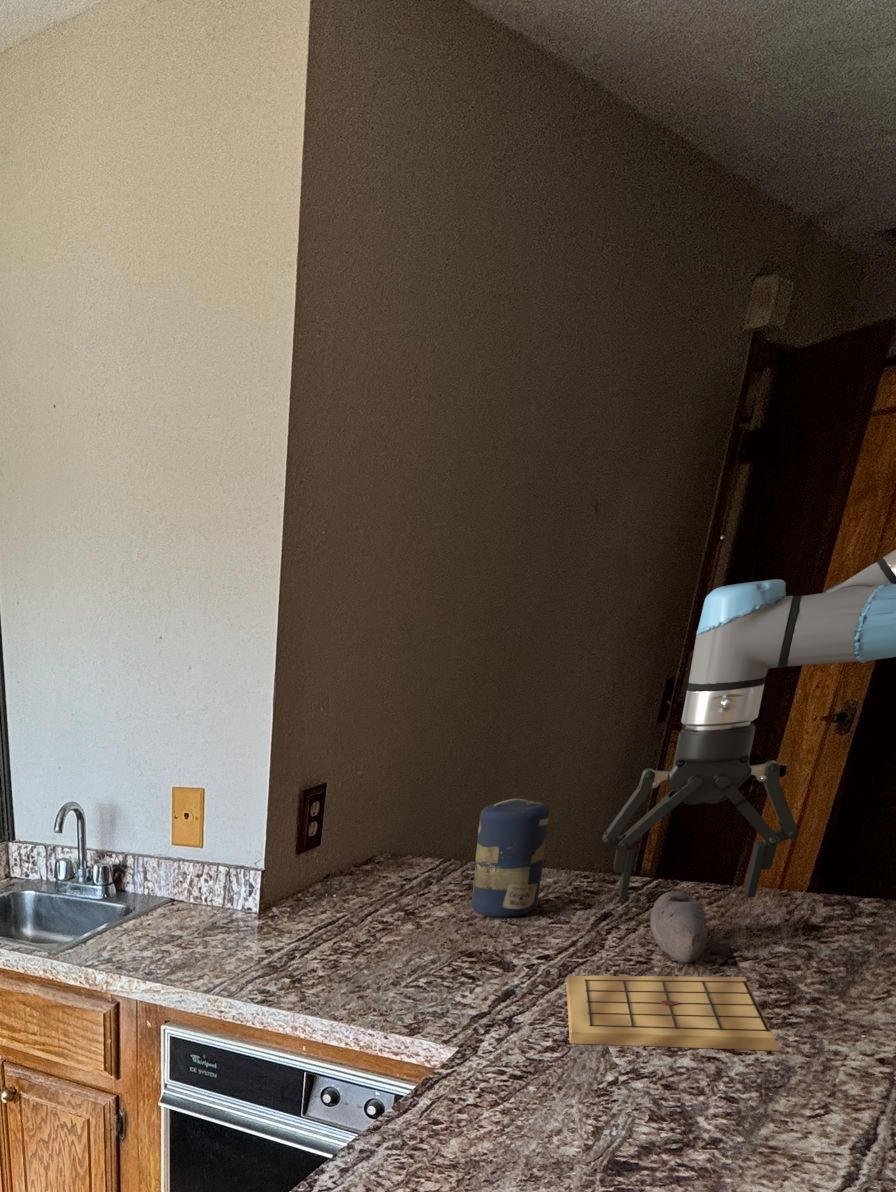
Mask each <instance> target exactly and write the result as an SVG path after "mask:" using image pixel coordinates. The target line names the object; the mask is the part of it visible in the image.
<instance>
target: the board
mask: <svg viewBox="0 0 896 1192" xmlns="http://www.w3.org/2000/svg"><path fill="white" fill-rule="evenodd" d="M566 977H567V978H566V985H565V989H566V1003H567V1004H566V1005H567V1007H566V1008H567V1021H568V1022H567V1023H568V1036H569V1044H576V1045H601V1046H602V1045H603V1046H604V1045H605V1046H606V1045H607V1046H628V1047H629V1046H631V1047H632V1046H634V1047H636V1046H637V1047H657V1048H658V1047H659V1048H687V1049H688V1048H689V1049H692V1048H693V1049H712V1048H713V1050H714V1049H715V1050H716V1049H718V1050H742V1051H743V1050H744V1051H767V1052H768V1051H770V1052H782V1051H781V1048H780V1046H779V1044H778V1042H777V1040H776V1038H775V1036H774V1034H773V1031H772V1030H771V1028H770V1025H769V1024H768V1022H767V1019H766V1017H765V1016H764V1015H765V1014H764V1013H763V1011H762V1009H761V1007H760V1004H759V1003H758V1001H757V999H756V997H755V995H754V993H753V991H752V989H751V987H750V985H749V983H748V980H747V979H746V977H745V976H675V975H674V976H672V975H671V976H667V975H665V976H663V975H662V976H661V975H660V976H659V975H658V976H657V975H656V976H655V975H648V976H647V975H567V976H566Z"/></svg>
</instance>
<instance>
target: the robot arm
mask: <svg viewBox="0 0 896 1192" xmlns="http://www.w3.org/2000/svg"><path fill="white" fill-rule="evenodd" d="M786 585H787V584H786V581H785V580H783V579H767V580H760V581H750V582H742V583H741V582H740V583H735V584H729V585H723V586H719V587H717V588H715V589H713V590H712V591H710V592H709V593H708V594H707V595H706V597H705V599H704V602H703V606H702V610H701V614H700V615H701V616H700V619H699V623H698V626H697V630H696V636H695V642H694V649H693V652H692V653H693V655H692V659H691V665H690V666H691V667H690V671H689V676H688V677H689V679H688V684H687V690H686V694H685V700H684V705H683V709H682V715H681V719H680V720H681V721H680V723H682V725H684V726H685V727H684V728H682V729H681V730H679V732H678V737H677V743H676V749H675V754H674V760H673V764H672V766H671V768H670V769H669V770H654V769H653V768H651V767H647V768H645V769H644V770H643V771H642V773H641V776H640V780H639V783H638V785H637V787H636V788H635V790H634V791H633V793H632V794H631V795H630V797H629V798H628V800H627V801H626V802H625V804H624V805H623V806H622V808H621V810H620V811H619V812H618V814H617V815H616V816H615V818H614V819H613V821H612V822H611V823H610V825H609V826H608V827H607V829H606V830H605V831H604V833H603V834H602V837H601V839H602V843H603V845H605V846H609V847H613V848H615V855H614V862H613V870H614V874H621V878H620V885H619V890H618V897H619V900H627V899H628V895H629V887H630V882H631V875H632V871H633V870H632V869H633V865H634V860H635V859H634V857H635V853H636V848H635V846H634V845H633V844H634V843H635V842H637V840H639V839H640V838H641V837H642V836H643V835H644V834H646V832H648V831H649V830H650V829H651V828H652V827H654V825H656V824H657V823H659V821H660V820H661V819H663V817H665V816H666V815H667V814H668V813H669V812H670V811H672V810H674V809H675V808H676V807H678V806H679V805H680V804H681V803H684V804H687V805H688V806H689V805H690V806H693V805H695V806H696V805H700V804H704V803H705V804H709V805H713V804H720V803H721V802H723V801H725V800H727V799H728V800H729V801H730V802H731V803H732V804H733V805H734V807H735V808H736V809H737V810H738V811H739V812H740V813H741V815H742V816H743V817H744V818H745V819H746V821H747V822H748V823H749V824H750V825H751V826H752V828H754V830H755V831H756V832H757V834H758V835H759V836H760V837H761V838H762V839H763V840H761V841H760V840H759V841H754V845H753V849H752V855H751V858H750V863H749V867H748V871H747V876H746V881H745V885H744V889H743V894H744V895H745V896H746V897H745V898H747V899H748V898H749V899H751V898H753V899H754V898H755V897H756V892H757V888H758V884H759V880H760V875H761V871H768V870H770V869H771V868H772V867H773V864H774V860H775V855H776V851H777V846H778V845H779V844H780V843H782V842H783V841H787V840H793V839H796V838H797V837H798V836H799V834H800V831H799V829H798V826H797V824H796V821H795V819H794V816H793V814H792V811H791V808H790V805H789V803H788V801H787V799H786V796H785V793H784V790H783V789H782V786H781V783H780V772H781V766H780V764H779V763H778V762H777V761H776V760H773V759H772V760H771V759H770V760H767V761H765V762H764V763H758V764H752V765H751V763H750V756H751V753H752V752H751V751H752V746H753V741H754V738H755V732H756V728H757V727H756V726H755V725H754V723H751V722H753V721H754V720H756V719H758V717H759V713H760V709H761V703H762V699H763V692H764V687H765V684H766V680H767V674H768V672H769V670H770V669H777V668H778V669H781V668H786V667H799V666H800V667H801V666H814V665H829V664H839V663H840V664H841V663H853V662H860V663H867V662H870V661H875V660H881V659H882V660H883V659H890V658H895V657H896V549H894V550H892V551H891V552H889V553H888V554H886V555H884V556H883V557H882V558H880V559H879V560H877V561H876V562H875V563H872V564H871V565H868V566H867V567H866V568H864V569H862V570H861V571H859V572H858V573H856V574H855V575H853V576H852V577H850V578H848V579H846V580H845V581H844V582H841V583H838V584H836V585H834V586H832V587H830V588H829V589H827V590H826V591H825V592H821V593H813V594H807V595H787V592H786ZM750 776H754V777H755V779H756V780H757V782H759V783H763V786H764V789H765V791H766V794H767V796H768V799H769V802H770V804H771V806H772V809H773V812H774V814H775V817H776V819H777V821H778V824H779V827H780V828H778V829H776V830H775V829H774V830H773V828H771V826H770V825H769V824H768V823H767V821H766V820H765V819H764V818H763V817H762V816H761V814H759V812H758V811H757V810H756V809H755V808H754V807H753V805H751V803H750V802H749V801H748V800H747V798H745V796H744V795H743V794H742V793H741V792H740V790H739V787H740V786H742V784H744V783H745V782H746V781H747V780H749V778H750ZM664 781H667V783H668V785H669V786H670V788H671V791H669V792H668V793H667V794H666V795H665V796H664V797H663V798H662V799H661V800H660V801H659V802H657V804H656V805H655V806H654V807H652V808H651V809H650V810H649V811H647V813H646V814H644V816H642V817H641V818H639V820H637V822H635V823H634V824H633V825H632V826H631V827H630V828H629V829H628V830H626V832H625V833H623V834H622V835H620V834H621V833H622V831H623V830H624V828H625V827H626V826H627V824H628V823H629V821H630V820H631V819H632V818H633V816H634V815H635V814H636V812H637V811H638V809H640V807H641V805H642V804H643V803H644V802H645V800H646V799H647V797H648V796H649V794H650V792H651V790H652V789H656V788H657V787H659V786H660V784H661V783H662V782H664Z"/></svg>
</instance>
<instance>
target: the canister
mask: <svg viewBox="0 0 896 1192" xmlns="http://www.w3.org/2000/svg"><path fill="white" fill-rule="evenodd" d="M549 817H550V807H549V806H548V804H546V803H544V802H541V801H536V800H529V799H524V798H518V797H517V798H511V799H506V800H502V801H500V802H497V803H492V804H490V805H487V806H485V807H484V808H483V809H482V810H481V812H480V815H479V823H478V830H477V832H478V833H477V841H476V842H477V843H476V852H475V868H474V877H473V888H472V898H471V899H472V900H471V907H472V909H473V911H474V912H475V913H477V914H479V915H482V916H487V917H495V918H508V917H517V916H518V917H519V916H523V915H526V914H529V913H531V912H533V911H534V910H535V909H536V908H537V907H538V905H539V896H540V895H539V894H540V887H541V882H542V874H543V869H544V862H545V861H544V860H545V859H544V857H545V848H546V840H547V833H548V825H549Z"/></svg>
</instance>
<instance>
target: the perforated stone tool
mask: <svg viewBox="0 0 896 1192" xmlns="http://www.w3.org/2000/svg"><path fill="white" fill-rule="evenodd" d="M649 924H650V930H651V933H652V936H653V938H654V940H655V942H656V944H657V945H658V946H659V948H660V949H661V950H662V951H664V953H666V954H667V955H668V956H669V957H671V958H672V959H674V960H675V961H677V962H681V963H687V964H688V963H691V962H692V963H693V962H694V961H695V960H697V959H698V958H699V957H700V956H701V955H702V953H703V951H704V949H705V947H706V944H707V941H708V925H707V920H706V916H705V913H704V910H703V908H702V906H701V904H700V902H699V901H698V900H696V898H695V897H693V896H692V895H691V894H690V893H689V892H686V891H679V890H672V891H667V892H665V893H662V894H661V895H660V896H659V897H658V898H657V900H656V901H655V903H654V905H653V906H652V909H651V913H650V919H649Z"/></svg>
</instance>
